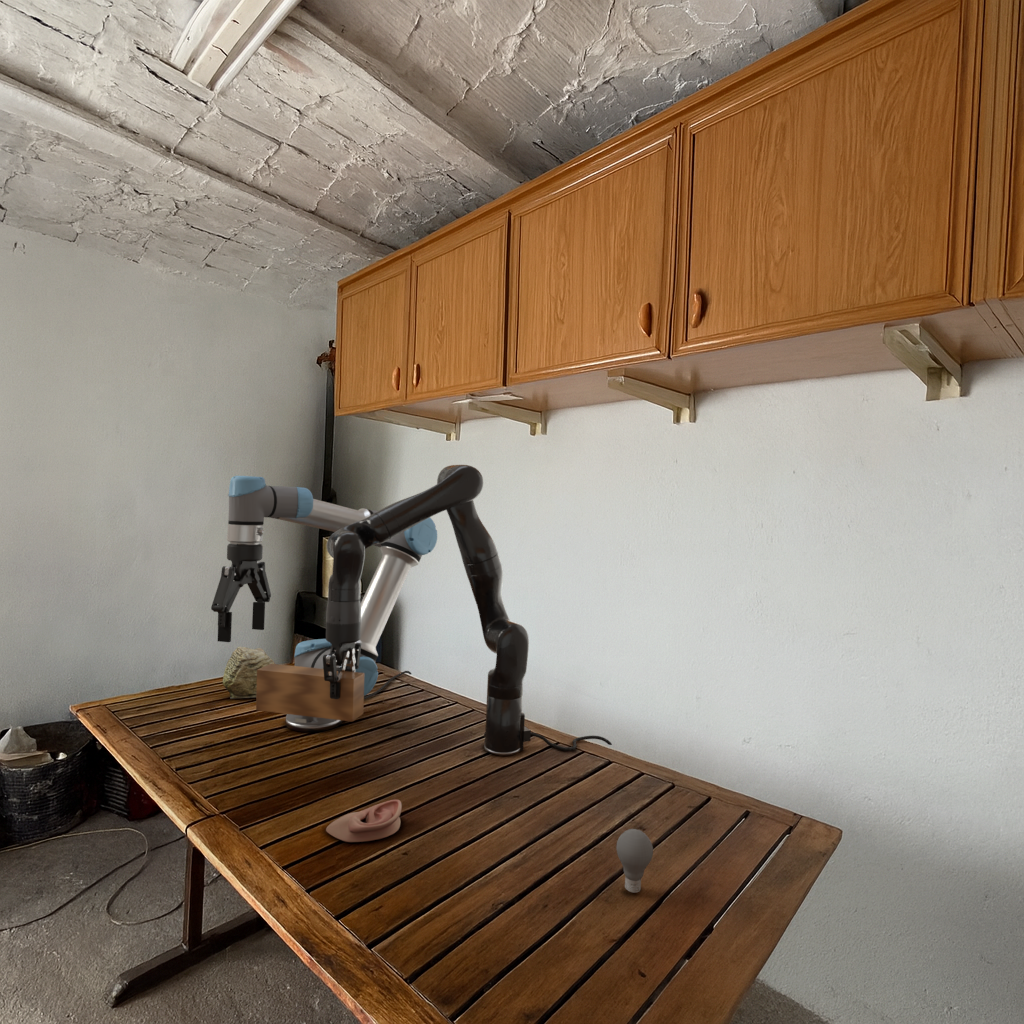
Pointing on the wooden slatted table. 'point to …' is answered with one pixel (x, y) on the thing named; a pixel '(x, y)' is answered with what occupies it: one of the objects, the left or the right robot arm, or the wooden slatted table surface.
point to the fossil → (244, 671)
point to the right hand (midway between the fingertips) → (341, 694)
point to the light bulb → (634, 857)
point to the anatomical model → (368, 823)
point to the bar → (308, 692)
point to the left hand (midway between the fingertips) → (241, 635)
